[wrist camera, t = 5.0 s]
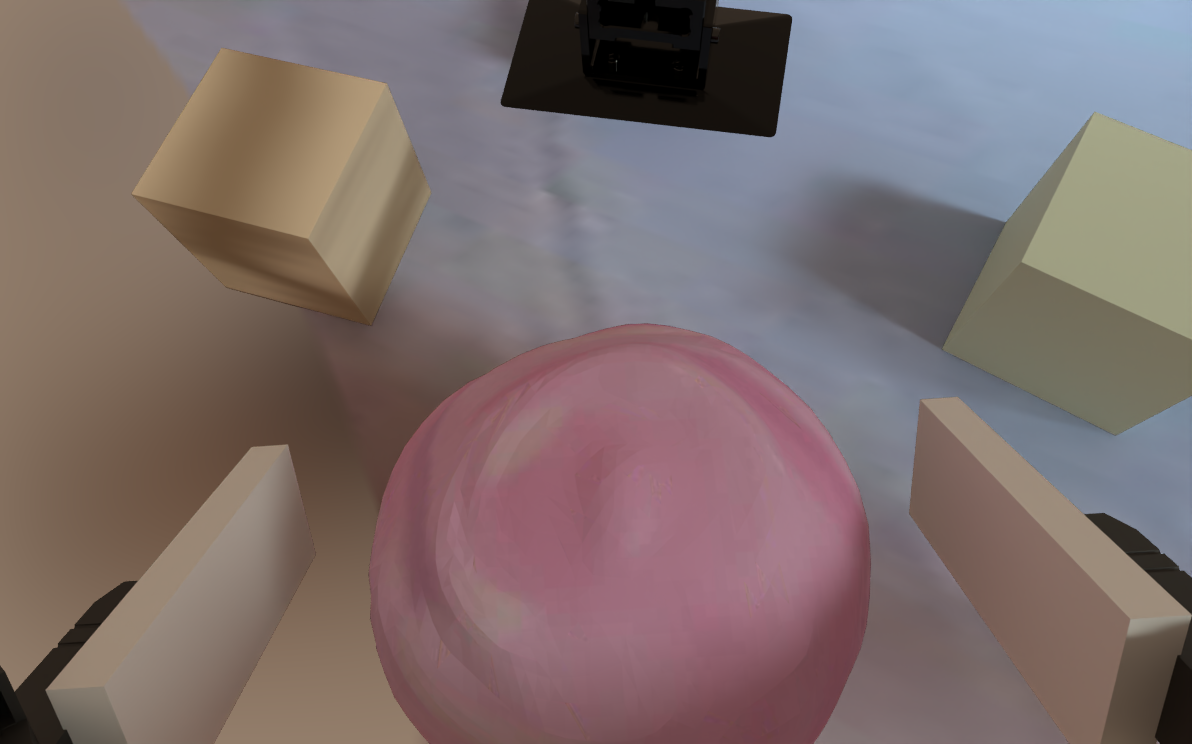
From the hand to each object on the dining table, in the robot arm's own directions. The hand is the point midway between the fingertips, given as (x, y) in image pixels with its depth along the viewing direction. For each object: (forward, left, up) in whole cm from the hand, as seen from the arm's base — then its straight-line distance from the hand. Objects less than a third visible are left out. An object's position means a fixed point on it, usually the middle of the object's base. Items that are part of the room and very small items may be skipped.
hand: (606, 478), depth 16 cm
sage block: (-11, -9, -5) cm, 15 cm away
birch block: (+11, -6, -5) cm, 14 cm away
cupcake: (-1, +2, -5) cm, 6 cm away
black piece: (+3, -16, -6) cm, 17 cm away
